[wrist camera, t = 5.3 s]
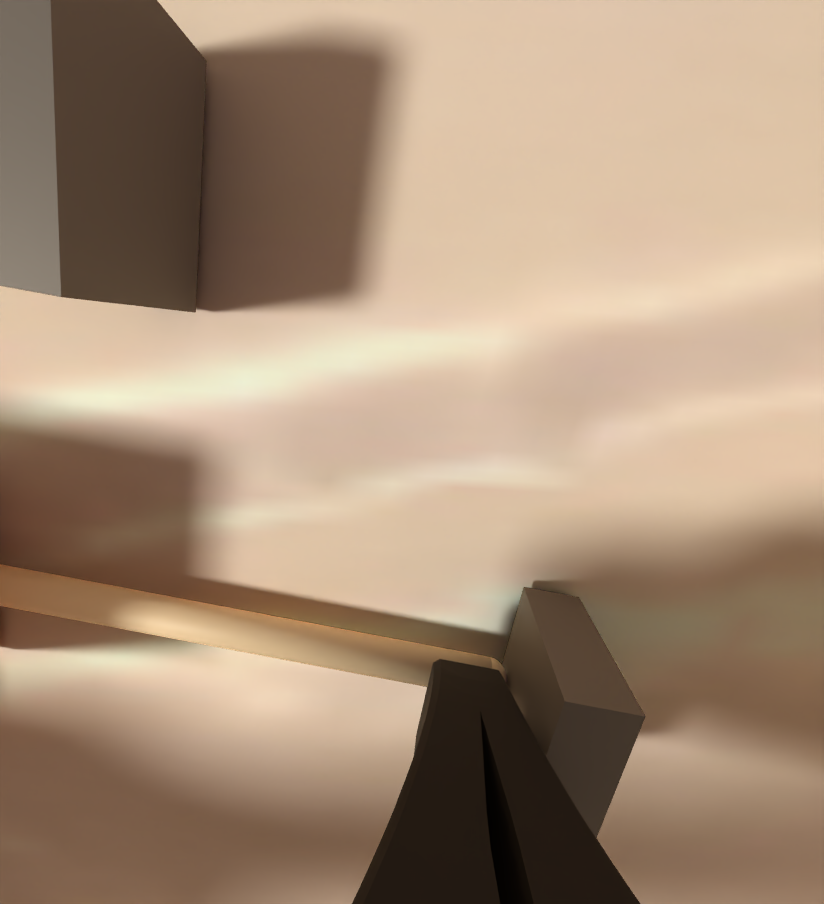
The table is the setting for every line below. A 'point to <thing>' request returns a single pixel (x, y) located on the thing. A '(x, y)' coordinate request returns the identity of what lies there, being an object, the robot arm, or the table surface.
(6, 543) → the table surface
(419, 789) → the robot arm
